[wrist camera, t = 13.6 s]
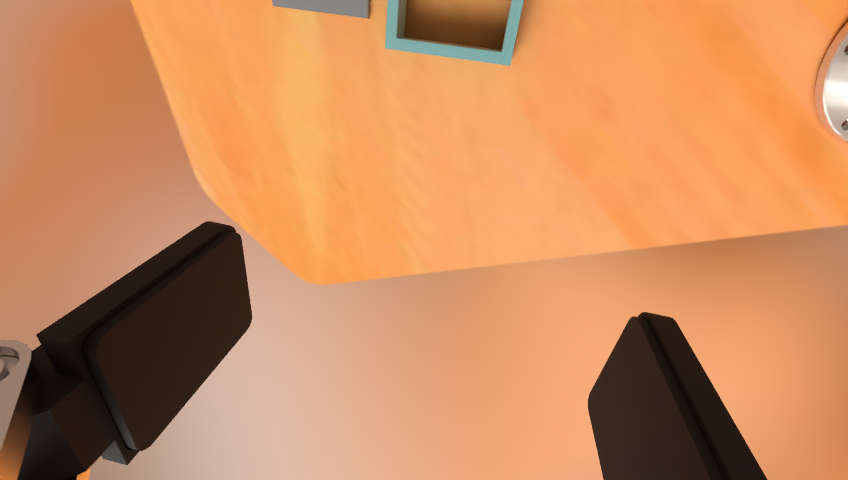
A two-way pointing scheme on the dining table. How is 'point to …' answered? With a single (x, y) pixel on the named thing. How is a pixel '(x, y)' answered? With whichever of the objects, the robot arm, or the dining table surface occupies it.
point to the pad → (329, 6)
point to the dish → (399, 42)
